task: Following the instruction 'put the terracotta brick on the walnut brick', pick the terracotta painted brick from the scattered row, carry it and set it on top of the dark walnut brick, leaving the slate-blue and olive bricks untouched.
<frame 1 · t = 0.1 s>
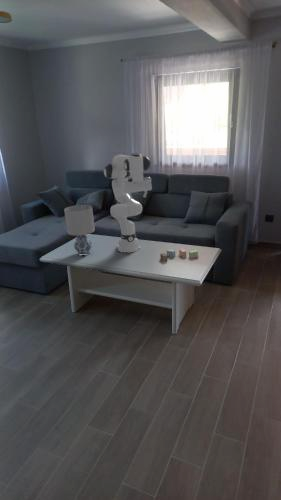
hand: (138, 198, 239), 48 cm above the table, fingers open, 8 cm apart
walnut brick: (163, 260, 257), on the table
olive brick: (193, 257, 260), on the table
terracotta brick: (182, 255, 263), on the table
lamp: (84, 254, 280), on the table
slate blue brick: (171, 256, 264), on the table
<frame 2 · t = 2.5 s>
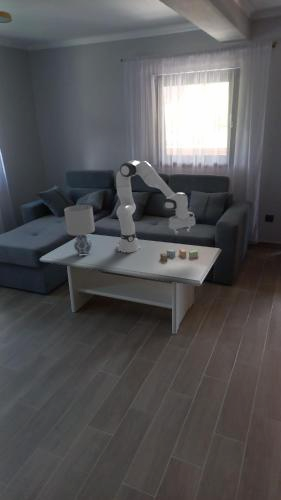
hand: (182, 232, 257), 18 cm above the table, fingers open, 8 cm apart
nothing on the table moved.
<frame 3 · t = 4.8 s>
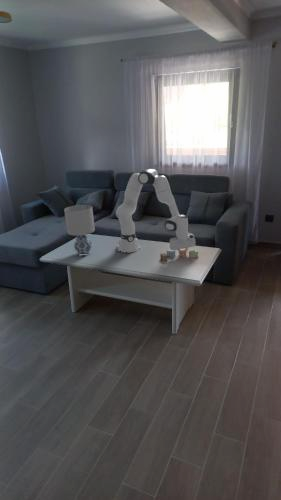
hand: (182, 253, 262), 2 cm above the table, fingers closed on terracotta brick, 3 cm apart
terracotta brick: (182, 255, 263), on the table, touching gripper
everything else where it was.
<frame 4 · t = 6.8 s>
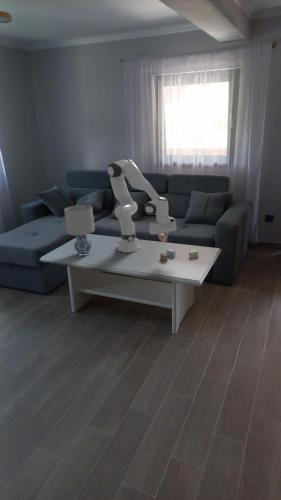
hand: (163, 238, 252), 17 cm above the table, fingers closed on terracotta brick, 3 cm apart
terracotta brick: (163, 240, 252), point 15 cm above the table, touching gripper
everything else where it was.
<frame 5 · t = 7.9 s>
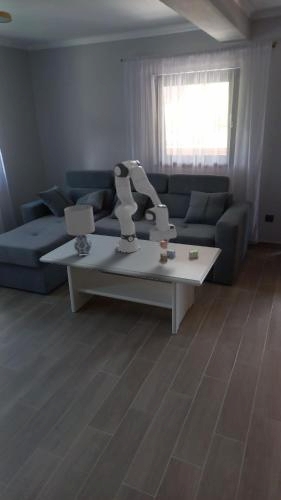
hand: (163, 245, 253), 12 cm above the table, fingers closed on terracotta brick, 3 cm apart
terracotta brick: (163, 247, 254), point 10 cm above the table, touching gripper
everything else where it was.
when the fingers open (7 cm above the table, at t = 8.9 s): terracotta brick stays where it is, resting on walnut brick.
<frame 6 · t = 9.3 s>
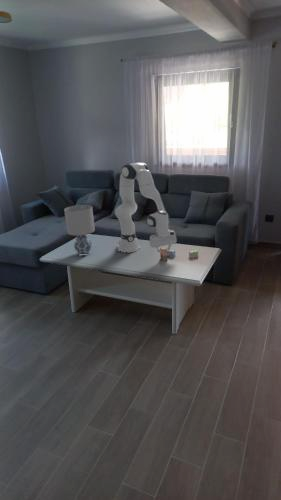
hand: (163, 250, 255), 7 cm above the table, fingers open, 7 cm apart
walnut brick: (163, 259, 257), on the table, touching terracotta brick
terracotta brick: (163, 254, 256), point 4 cm above the table, touching walnut brick
everything else where it was.
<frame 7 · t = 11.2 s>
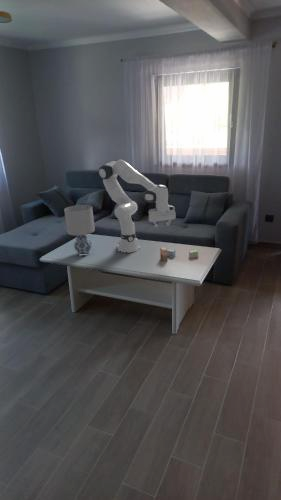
hand: (162, 226, 253), 25 cm above the table, fingers open, 8 cm apart
nothing on the table moved.
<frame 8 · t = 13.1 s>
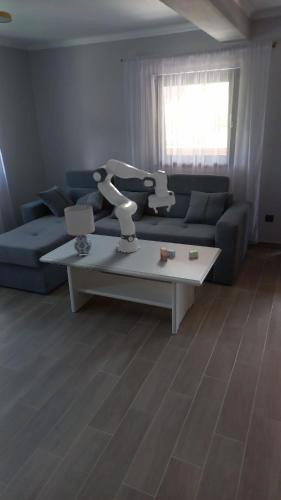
hand: (162, 212, 255), 34 cm above the table, fingers open, 8 cm apart
nothing on the table moved.
at the end: terracotta brick 0.0 cm off-centre on the walnut brick, point 4.5 cm above the walnut brick's base; slate blue brick moved 0.1 cm from its start; olive brick moved 0.1 cm from its start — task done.
